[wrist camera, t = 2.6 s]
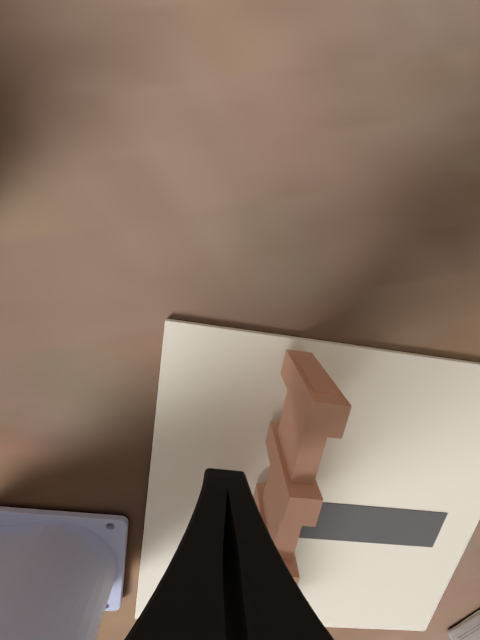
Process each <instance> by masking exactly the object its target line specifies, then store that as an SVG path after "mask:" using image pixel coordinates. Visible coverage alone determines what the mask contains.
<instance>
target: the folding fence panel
mask: <svg viewBox="0 0 480 640" xmlns="http://www.w3.org/2000/svg"><path fill="white" fill-rule="evenodd" d="M281 376H282V378H283V381H284V383H285V386H286V388H287V394H286V398H285V402H284V407H283V411H282V415H281V419H280V422H276V421H270V424H269V428H268V433H267V437H266V447H267V452H268V457H269V462H270V467H269V471H268V475H267V480H266V484H260V483H256V487H255V491H254V496H253V497H254V500H255V502H256V505H257V507H258V510H259V512H260V514H261V516H262V519H263V521H264V523H265V525H266V527H267V529H268V532H269V534H270V536H271V538H272V540H273V542H274V544H275V546H276V548H277V549H278V551H279V553H280V555H281V557H282V559H283V561H284V563H285V564H286V566H287V568H288V570H289V572H290V573H291V575H292V577H293V578H294V580H295V582H296V583H297V585H298V583H299V579H300V575H299V571H298V566H297V562H296V557H295V553H294V552H295V549H296V545H297V542H298V538H299V535H300V531H301V528H302V526H310V527H315V526H316V523H317V520H318V517H319V513H320V510H321V507H322V503H323V498H322V495H321V492H320V490H319V487H318V484H317V482H316V475H317V472H318V468H319V465H320V461H321V458H322V454H323V451H324V447H325V444H326V440H327V437H330V438H339V439H342V437H343V434H344V430H345V427H346V424H347V420H348V417H349V414H350V410H351V407H352V406H351V404H350V403H349V402H348V400H347V399H346V398H345V396H344V395H343V394H342V392H341V391H340V390H339V388H338V387H337V386H336V384H335V383H334V382H333V380H332V379H331V377H330V376H329V375H328V373H327V372H326V371H325V369H324V368H323V367H322V365H321V364H320V363H319V361H318V360H317V359H316V357H315V356H314V355H313V353H310V352H303V351H295V350H288V349H286V352H285V356H284V361H283V365H282V370H281Z"/></svg>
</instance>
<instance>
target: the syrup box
mask: <svg viewBox="0 0 480 640" xmlns="http://www.w3.org/2000/svg"><path fill="white" fill-rule="evenodd" d="M447 634H448V635H449V637H450V639H451V640H480V610H479V611H477V612H475V613H474V614H472V615H471V616H469V617H468V618H466V619H465V620H464V621H462V622H461V623H459V624H458V625H456V626H455V627H453V628H452V629H450V630H449V631H448V632H447Z"/></svg>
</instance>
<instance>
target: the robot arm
mask: <svg viewBox="0 0 480 640" xmlns="http://www.w3.org/2000/svg"><path fill="white" fill-rule="evenodd" d="M111 523H112V524H111ZM128 523H129V522H128V519H127V518H126V517H124V516H121V515H108V514H94V513H81V512H68V511H55V510H41V509H28V508H15V507H1V506H0V640H96V637H97V634H98V631H99V628H100V625H101V621H102V618H103V615H104V612H105V611H116V610H118V609H119V608H120V606H121V603H122V595H123V583H124V571H125V559H126V547H127V535H128ZM125 640H334V639H333V638H332V636H331V635H330V633H329V632H328V631H327V629H326V628H325V626H324V625H323V624H322V622H321V621H320V619H319V618H318V616H317V615H316V613H315V612H314V610H313V609H312V607H311V606H310V604H309V603H308V601H307V600H306V598H305V596H304V595H303V593H302V592H301V590H300V588H299V587H298V585H297V583H296V582H295V580H294V578H293V577H292V575H291V573H290V572H289V570H288V568H287V566H286V564H285V563H284V561H283V559H282V557H281V555H280V553H279V551H278V549H277V548H276V546H275V544H274V542H273V540H272V538H271V536H270V534H269V532H268V529H267V527H266V525H265V523H264V521H263V519H262V516H261V514H260V512H259V510H258V507H257V505H256V502H255V500H254V497H253V495H252V492H251V490H250V487H249V484H248V481H247V478H246V475H245V473H244V472H243V471H235V470H224V469H214V468H208V469H206V470H205V472H204V478H203V484H202V488H201V492H200V495H199V498H198V501H197V504H196V506H195V509H194V511H193V514H192V516H191V519H190V522H189V524H188V526H187V528H186V531H185V533H184V535H183V537H182V539H181V541H180V543H179V546H178V548H177V550H176V552H175V554H174V556H173V558H172V560H171V562H170V564H169V566H168V567H167V569H166V571H165V573H164V575H163V577H162V579H161V580H160V582H159V584H158V586H157V587H156V589H155V591H154V593H153V594H152V596H151V598H150V599H149V601H148V603H147V604H146V606H145V608H144V610H143V611H142V613H141V615H140V616H139V618H138V619H137V621H136V623H135V624H134V626H133V627H132V629H131V630H130V632H129V633H128V635H127V636H126V638H125Z"/></svg>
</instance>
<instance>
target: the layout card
mask: <svg viewBox="0 0 480 640" xmlns="http://www.w3.org/2000/svg"><path fill="white" fill-rule="evenodd" d="M286 349H288V350H295V351H303V352H310V353H313V355H314V356H315V357H316V359H317V360H318V361H319V363H320V364H321V365H322V367H323V368H324V369H325V371H326V372H327V373H328V375H329V376H330V377H331V379H332V380H333V382H334V383H335V384H336V386H337V387H338V388H339V390H340V391H341V392H342V394H343V395H344V396H345V398H346V399H347V400H348V402H349V403H350V404H351V406H352V407H351V410H350V414H349V417H348V420H347V424H346V427H345V430H344V434H343V437H342V439H339V438H330V437H327V440H326V444H325V447H324V451H323V454H322V458H321V461H320V465H319V468H318V472H317V475H316V482H317V484H318V487H319V490H320V492H321V495H322V498H323V503H322V507H321V510H320V513H319V517H318V520H317V523H316V526H315V527H310V526H302V528H301V531H300V535H299V538H298V542H297V545H296V549H295V552H294V553H295V557H296V562H297V566H298V571H299V575H300V579H299V583H298V587H299V588H300V590H301V592H302V593H303V595H304V596H305V598H306V600H307V601H308V603H309V604H310V606H311V607H312V609H313V610H314V612H315V613H316V615H317V616H318V618H319V619H320V621H321V622H322V624H323V625H324V626H325V627H341V628H365V629H389V630H412V631H425V630H426V628H427V626H428V624H429V622H430V620H431V618H432V616H433V614H434V612H435V610H436V607H437V605H438V603H439V601H440V599H441V597H442V595H443V593H444V591H445V589H446V587H447V585H448V583H449V581H450V579H451V577H452V575H453V573H454V571H455V569H456V567H457V565H458V563H459V560H460V558H461V556H462V554H463V552H464V550H465V548H466V546H467V544H468V542H469V540H470V538H471V536H472V534H473V532H474V530H475V528H476V526H477V524H478V522H479V520H480V363H479V362H472V361H465V360H458V359H451V358H444V357H437V356H430V355H422V354H415V353H408V352H401V351H394V350H387V349H380V348H373V347H366V346H359V345H352V344H344V343H337V342H330V341H323V340H316V339H309V338H302V337H295V336H288V335H281V334H274V333H266V332H259V331H252V330H245V329H238V328H231V327H224V326H217V325H210V324H203V323H196V322H188V321H181V320H174V319H166V320H165V327H164V337H163V347H162V356H161V366H160V376H159V386H158V396H157V405H156V415H155V425H154V435H153V445H152V454H151V464H150V474H149V484H148V494H147V503H146V513H145V523H144V533H143V543H142V553H141V562H140V572H139V582H138V592H137V602H136V611H135V619H138V618H139V616H140V615H141V613H142V611H143V610H144V608H145V606H146V604H147V603H148V601H149V599H150V598H151V596H152V594H153V593H154V591H155V589H156V587H157V586H158V584H159V582H160V580H161V579H162V577H163V575H164V573H165V571H166V569H167V567H168V566H169V564H170V562H171V560H172V558H173V556H174V554H175V552H176V550H177V548H178V546H179V543H180V541H181V539H182V537H183V535H184V533H185V531H186V528H187V526H188V524H189V522H190V519H191V516H192V514H193V511H194V509H195V506H196V504H197V501H198V498H199V495H200V492H201V488H202V484H203V478H204V472H205V470H206V469H208V468H214V469H224V470H235V471H243V472H244V473H245V475H246V478H247V481H248V484H249V487H250V490H251V492H252V495H253V496H254V491H255V487H256V483H260V484H266V480H267V475H268V471H269V467H270V462H269V457H268V452H267V447H266V437H267V433H268V428H269V424H270V421H276V422H280V419H281V415H282V411H283V407H284V402H285V398H286V394H287V388H286V386H285V383H284V381H283V378H282V376H281V370H282V365H283V361H284V356H285V352H286Z"/></svg>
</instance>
